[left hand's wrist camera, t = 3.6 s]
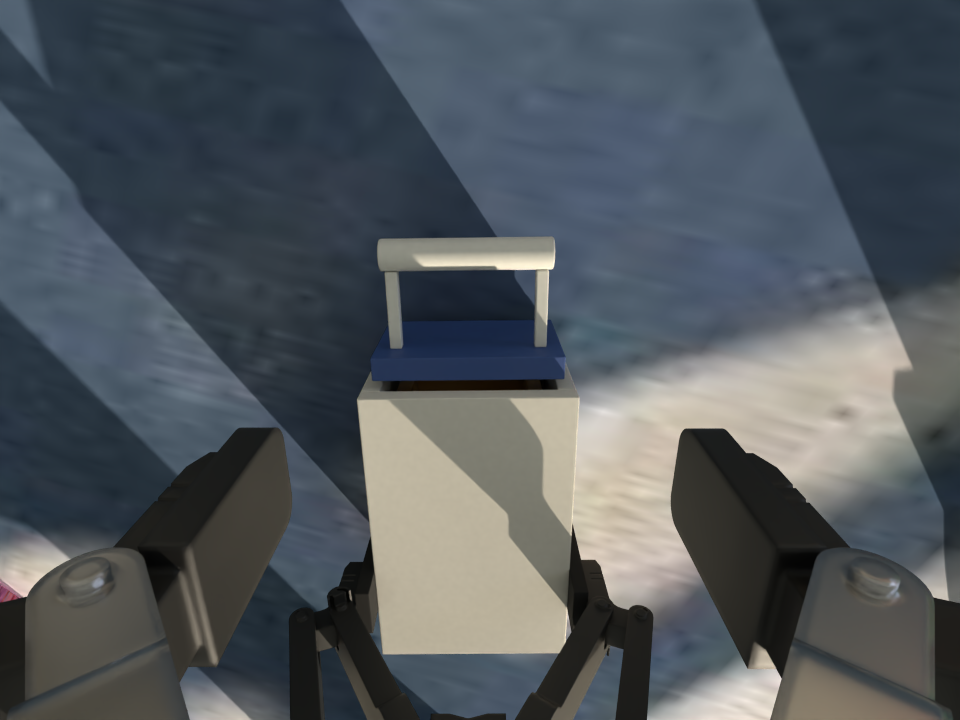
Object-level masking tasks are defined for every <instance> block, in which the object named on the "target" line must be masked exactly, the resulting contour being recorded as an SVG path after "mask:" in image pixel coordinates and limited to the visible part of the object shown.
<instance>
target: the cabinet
mask: <svg viewBox="0 0 960 720" xmlns="http://www.w3.org/2000/svg"><path fill="white" fill-rule="evenodd" d="M540 382H541V386H542V390H485V391H397V390H398V387H399V384H400V381H372V375H371V372H370V374H369V376H368V378H367V380H366V382H365V384H364V386H363V388H362V390H361V392H360V394H359V396H358V398H357V406H358V416H359V426H360V436H361V445H362V455H363V465H364V475H365V485H366V494H367V504H368V514H369V524H370V534H371V544H372V553H373V563H374V572H375V582H376V592H377V602H378V612H379V622H380V632H381V642H382V652H383V654H473V653H560V651H561V649H562V648H563V646H564V644H565V640H566V623H567V603H568V585H569V569H570V553H571V535H572V518H573V500H574V483H575V466H576V448H577V431H578V413H579V395H578V393H577V390H576V388H575V385H574V383H573V380H572V378H571V375H570V373H569V370H568V367H567V365H566V362H565V378H564V379H540Z"/></svg>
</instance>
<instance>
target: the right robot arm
mask: <svg viewBox="0 0 960 720" xmlns="http://www.w3.org/2000/svg"><path fill="white" fill-rule="evenodd" d="M327 599H328V606H329V607H328V608H326V609H324V610H322V611H318V612H313V610H311V609H310V608H300V609H298V610H296V611H294V612H293V613H292V614H291V616H290V618H289V658H290V720H325V715H324V701H323V687H322V673H321V660H320V651H322V650H326V649H329V648H333V647H335V649H336V652H337V654H338V656H339V658H340V660H341V663H342V665H343V667H344V669H345V671H346V674H347V676H348V678H349V680H350V682H351V685H352V687H353V689H354V691H355V693H356V696H357V698H358V700H359V702H360V704H361V707H362V709H363V711H364V713H365V715H366V718H367V720H420V719H419V717H418V715H417V713H416V712H415V710H414V708H413V706H412V704H411V702H410V701H409V699H408V697H407V695H406V694H405V693H403V694H402V693H401V691H400V689H399V687H398V686H397V684H396V682H395V680H394V678H393V676H392V674H391V673H390V671H389V669H388V667H387V665H386V663H385V661H384V660H383V658H382V656H381V654H380V652H379V650H378V648H377V647H376V645H375V643H374V641H373V639H372V637H371V635H370V634H369V633H373V630H374V626H375V621H376V617H377V612H378V602H377V592H376V582H375V572H374V563H373V553H372V544H371V537H370V540H369V544H368V547H367V551H366V554H365V558H364V561H363V562H350V563H349V564H348V565H347V566H346V568H345V569H344V573H343V576H342V579H341V582H340V585H339V586H338V587H335V588H333V589H332V590H331V591H330V592H329V593H328V595H327ZM567 610H568V615H569V621H570V626H571V634H570V636H569V637H568V639H567V641H566V643H565V644H564V646H563V648H562V649H561V651H560V653H559V654H558V656H557V658H556V659H555V661H554V663H553V665H552V666H551V668H550V670H549V671H548V673H547V675H546V676H545V678H544V680H543V681H542V683H541V685H540V687H539V688H538V690H537V692H536V693H533V692H532V693H531V694H530V696H529V697H528V699H527V700H526V702H525V704H524V705H523V707H522V709H521V710H520V712H519V714H518V715H517V717H516V719H515V720H573V718H574V716H575V714H576V712H577V710H578V708H579V706H580V704H581V702H582V700H583V698H584V696H585V694H586V692H587V690H588V688H589V686H590V684H591V682H592V680H593V678H594V676H595V674H596V672H597V670H598V668H599V666H600V664H601V662H602V660H603V658H604V656H605V654H606V652H607V656H609V652H610V646H614V647H617V648H621V649H624V652H623V660H622V669H621V677H620V685H619V694H618V702H617V711H616V719H615V720H647V709H648V693H649V678H650V662H651V647H652V631H653V614H652V612H651V611H650V610H649V609H648V608H646V607H644V606H641V605H635V606H632V607H631V608H630V609H629V610H626V609H622V608H620V607H617V606H616V605H614V604H613V602H612V601H611V600H610V599H609V596H608V592H607V589H606V585H605V581H604V578H603V574H602V571H601V567H600V565H599V564H598V563H597V562H596V560H581V558H580V554H579V550H578V545H577V541H576V537H575V533H574V528H573V524H572V535H571V553H570V569H569V585H568V603H567ZM431 720H506V714H484V715H480V716H476V717H473V718H464V717H460V716H456V715H452V714H431Z"/></svg>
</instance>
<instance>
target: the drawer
mask: <svg viewBox="0 0 960 720" xmlns="http://www.w3.org/2000/svg"><path fill="white" fill-rule="evenodd" d="M377 259H378V266H379V269H380V271H386V272H385V285H386V298H387V311H388V326H387V328H386V330H385V332H384V334H383V335H382V337H381V339H380V341H379V343H378V345H377V347H376V349H375V351H374V353H373V355H372V356H371V358H370V364H371V375H372V381H400V384H399V387H398V390H397V391H485V390H542V386H541V382H540V379H564V378H565V358H566V357H565V355H564V352H563V350H562V347H561V345H560V342H559V339H558V337H557V334H556V332H555V329H554V327H553V324H552V322H551V320H547V314H548V283H549V271H548V269H553V267H554V262H555V242H554V238H553V237H480V238H398V239H379V241H378V245H377ZM454 270H536V271H535V314H534V320H488V321H402V317H401V302H400V287H399V271H454Z"/></svg>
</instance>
